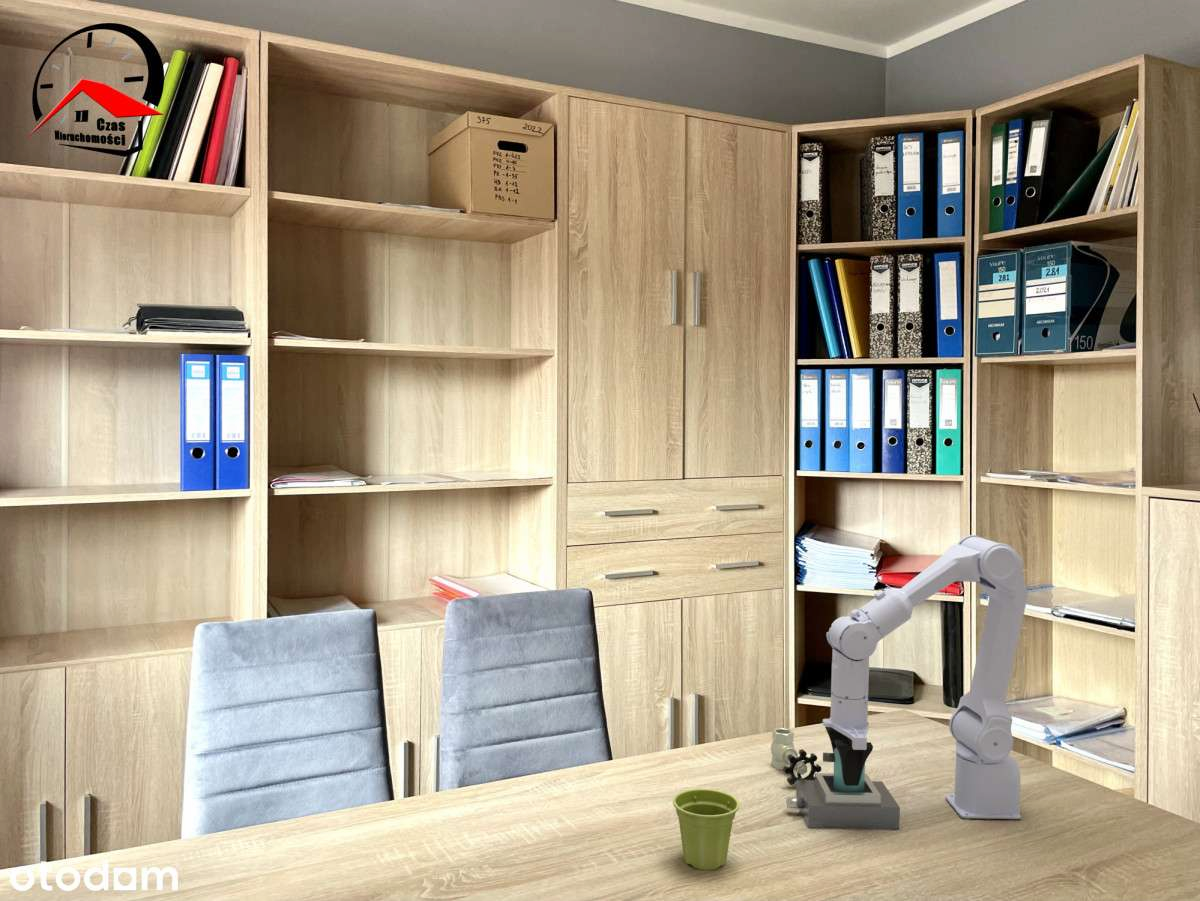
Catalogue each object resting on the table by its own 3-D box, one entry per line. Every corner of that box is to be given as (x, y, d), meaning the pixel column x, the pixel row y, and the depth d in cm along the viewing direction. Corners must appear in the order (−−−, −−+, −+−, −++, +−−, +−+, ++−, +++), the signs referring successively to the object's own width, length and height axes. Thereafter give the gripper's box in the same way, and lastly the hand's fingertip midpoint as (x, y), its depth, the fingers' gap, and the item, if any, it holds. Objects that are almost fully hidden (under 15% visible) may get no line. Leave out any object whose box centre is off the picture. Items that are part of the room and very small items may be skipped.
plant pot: (670, 844, 145) (671, 787, 145) (734, 846, 145) (735, 788, 144) (673, 875, 136) (674, 815, 135) (741, 877, 136) (742, 816, 135)
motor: (881, 802, 161) (882, 772, 161) (899, 829, 151) (900, 797, 151) (781, 800, 161) (782, 770, 161) (792, 827, 151) (793, 796, 151)
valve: (760, 763, 177) (784, 790, 166) (761, 727, 177) (785, 752, 165) (795, 761, 178) (821, 788, 167) (796, 726, 178) (822, 750, 166)
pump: (862, 783, 158) (863, 747, 157) (866, 795, 153) (867, 757, 153) (821, 780, 159) (822, 744, 158) (823, 792, 154) (824, 754, 154)
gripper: (814, 679, 162) (812, 760, 163) (834, 708, 148) (832, 796, 149) (857, 680, 162) (855, 760, 163) (881, 709, 148) (878, 797, 148)
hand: (847, 777), depth 156 cm, fingers closed on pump, 5 cm apart
